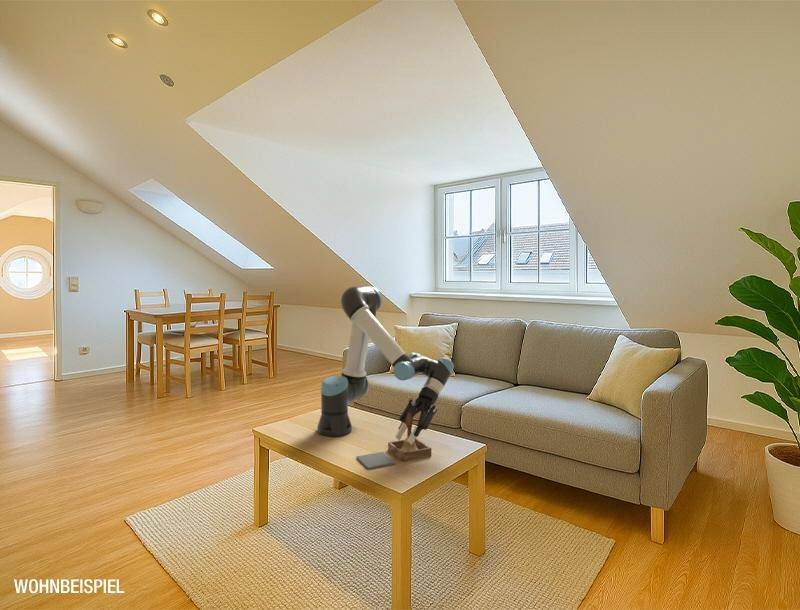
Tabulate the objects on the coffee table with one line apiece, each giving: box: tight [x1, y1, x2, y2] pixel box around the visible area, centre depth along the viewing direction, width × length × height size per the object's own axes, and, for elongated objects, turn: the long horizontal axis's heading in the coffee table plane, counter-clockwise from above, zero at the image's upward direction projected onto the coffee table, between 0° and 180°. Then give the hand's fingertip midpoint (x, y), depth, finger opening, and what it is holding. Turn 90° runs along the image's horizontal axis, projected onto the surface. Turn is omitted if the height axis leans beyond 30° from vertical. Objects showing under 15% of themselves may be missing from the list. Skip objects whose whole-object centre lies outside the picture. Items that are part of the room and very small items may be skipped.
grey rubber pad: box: [356, 451, 396, 470], centre depth 177 cm, size 11×11×1 cm
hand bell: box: [399, 413, 419, 452], centre depth 185 cm, size 8×8×16 cm
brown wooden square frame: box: [387, 437, 432, 462], centre depth 186 cm, size 13×13×3 cm
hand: (403, 440), depth 183 cm, fingers open, 6 cm apart
